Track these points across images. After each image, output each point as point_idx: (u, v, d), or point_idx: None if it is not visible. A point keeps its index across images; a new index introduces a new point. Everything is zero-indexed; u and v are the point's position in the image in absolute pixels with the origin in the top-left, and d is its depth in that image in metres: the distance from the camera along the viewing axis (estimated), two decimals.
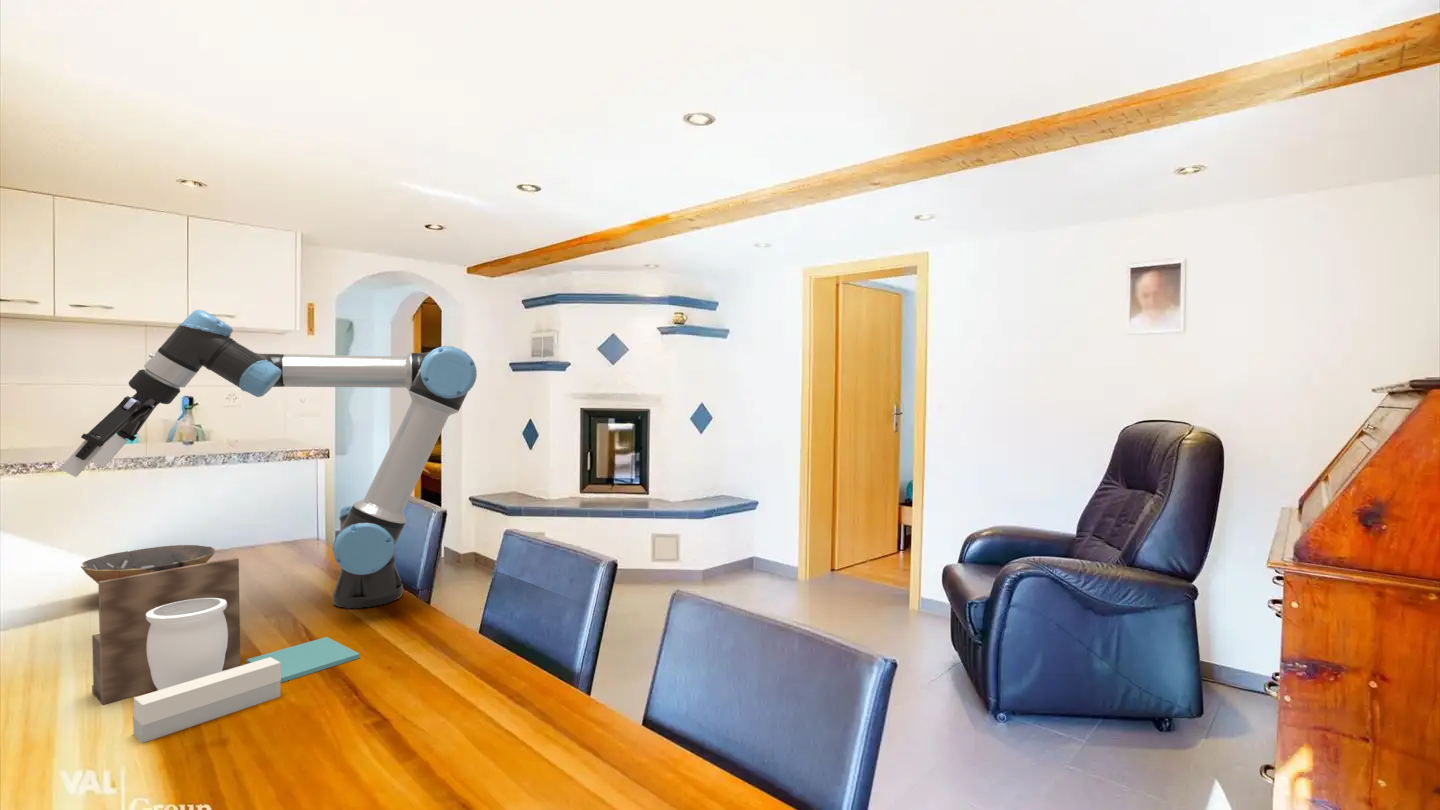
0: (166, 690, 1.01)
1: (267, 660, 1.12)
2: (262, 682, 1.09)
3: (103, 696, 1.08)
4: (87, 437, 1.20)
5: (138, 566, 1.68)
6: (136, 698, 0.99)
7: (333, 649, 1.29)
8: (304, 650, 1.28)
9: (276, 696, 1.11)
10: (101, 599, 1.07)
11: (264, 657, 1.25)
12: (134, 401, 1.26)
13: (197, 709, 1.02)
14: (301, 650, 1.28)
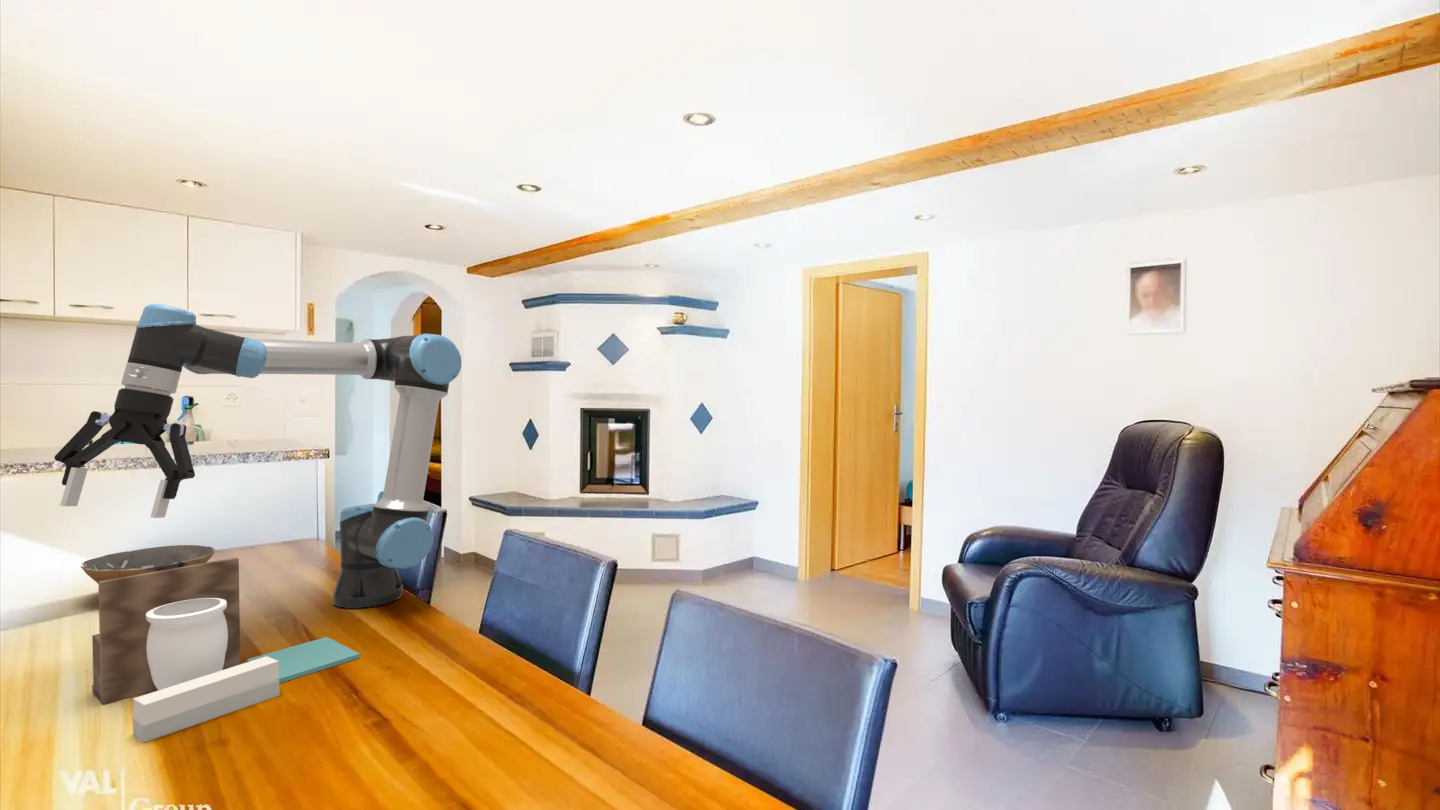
0: (166, 691, 1.01)
1: (264, 659, 1.13)
2: (261, 681, 1.10)
3: (103, 696, 1.08)
4: (187, 476, 1.16)
5: (138, 566, 1.68)
6: (136, 699, 0.98)
7: (333, 649, 1.29)
8: (304, 650, 1.28)
9: (275, 695, 1.11)
10: (101, 599, 1.07)
11: None
12: (182, 425, 1.18)
13: (197, 709, 1.02)
14: (301, 650, 1.28)
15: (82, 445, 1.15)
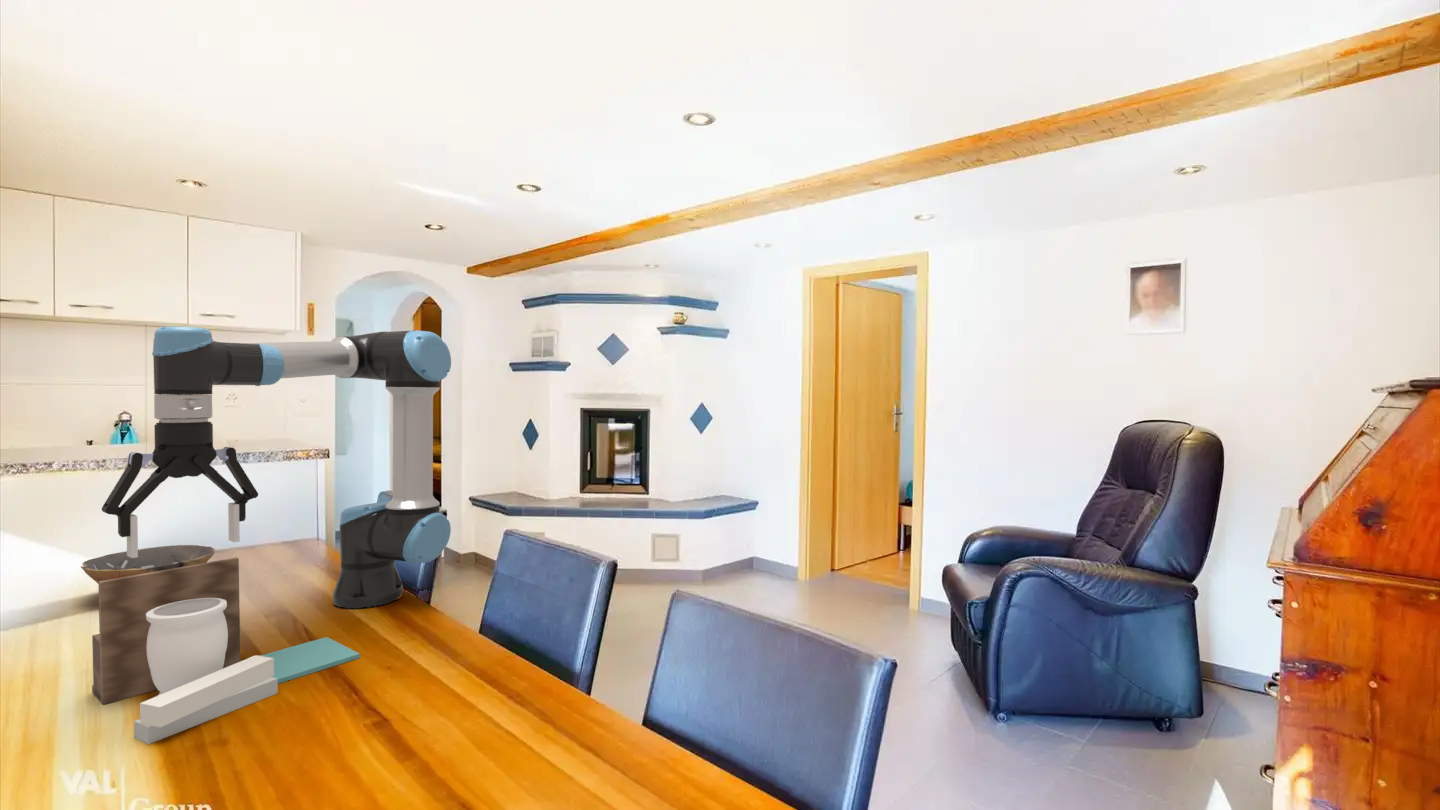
0: (172, 693, 1.00)
1: (255, 657, 1.13)
2: (258, 678, 1.11)
3: (103, 696, 1.08)
4: None
5: (138, 566, 1.68)
6: (144, 703, 0.97)
7: (333, 649, 1.29)
8: (304, 650, 1.28)
9: (273, 694, 1.12)
10: (101, 599, 1.07)
11: None
12: None
13: (200, 709, 1.02)
14: (301, 650, 1.28)
15: None
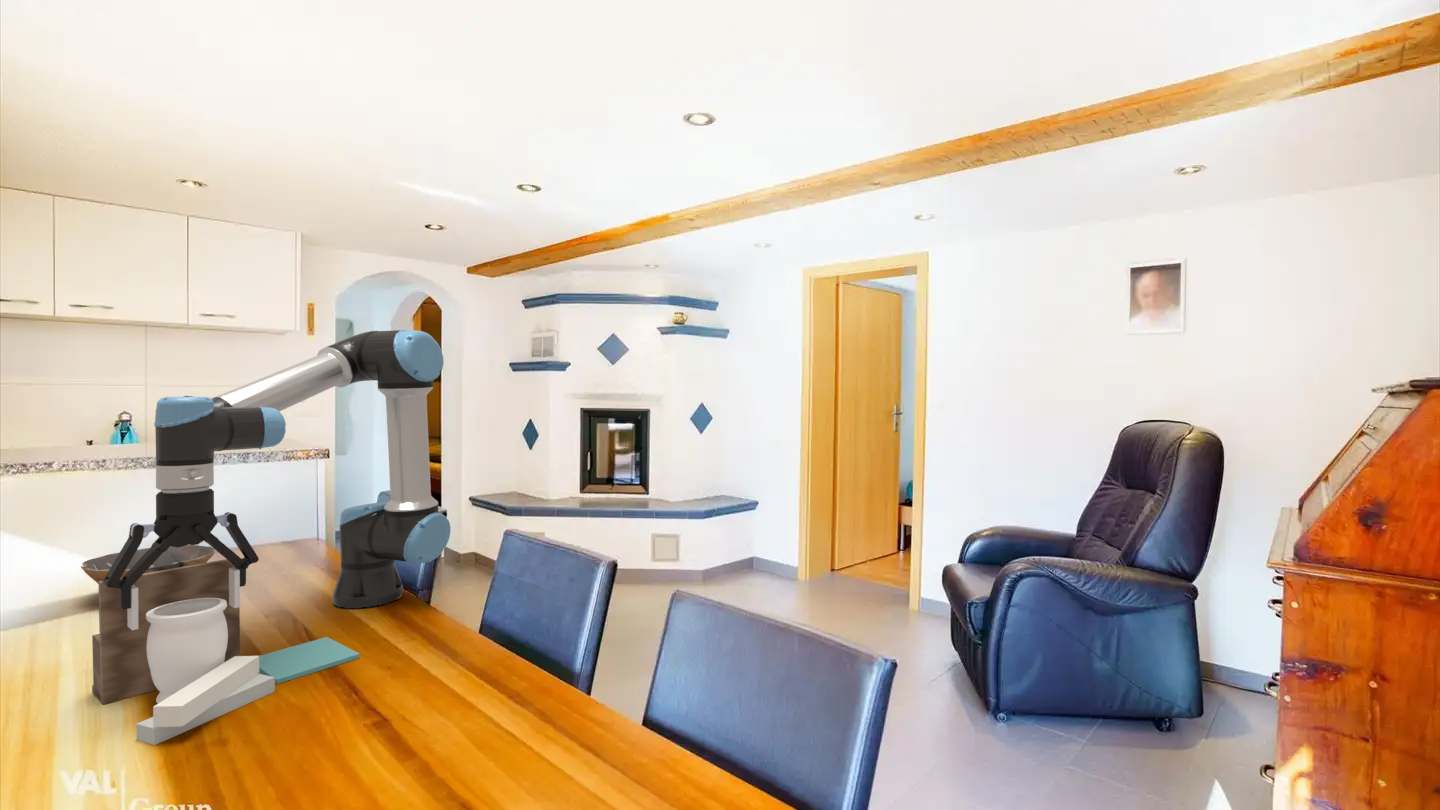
0: (180, 694, 1.00)
1: (238, 658, 1.13)
2: (249, 676, 1.12)
3: (103, 696, 1.08)
4: (257, 559, 1.18)
5: None
6: (158, 706, 0.96)
7: (333, 649, 1.29)
8: (304, 650, 1.28)
9: (271, 692, 1.12)
10: (101, 599, 1.07)
11: (264, 657, 1.25)
12: None
13: None
14: (301, 650, 1.28)
15: None
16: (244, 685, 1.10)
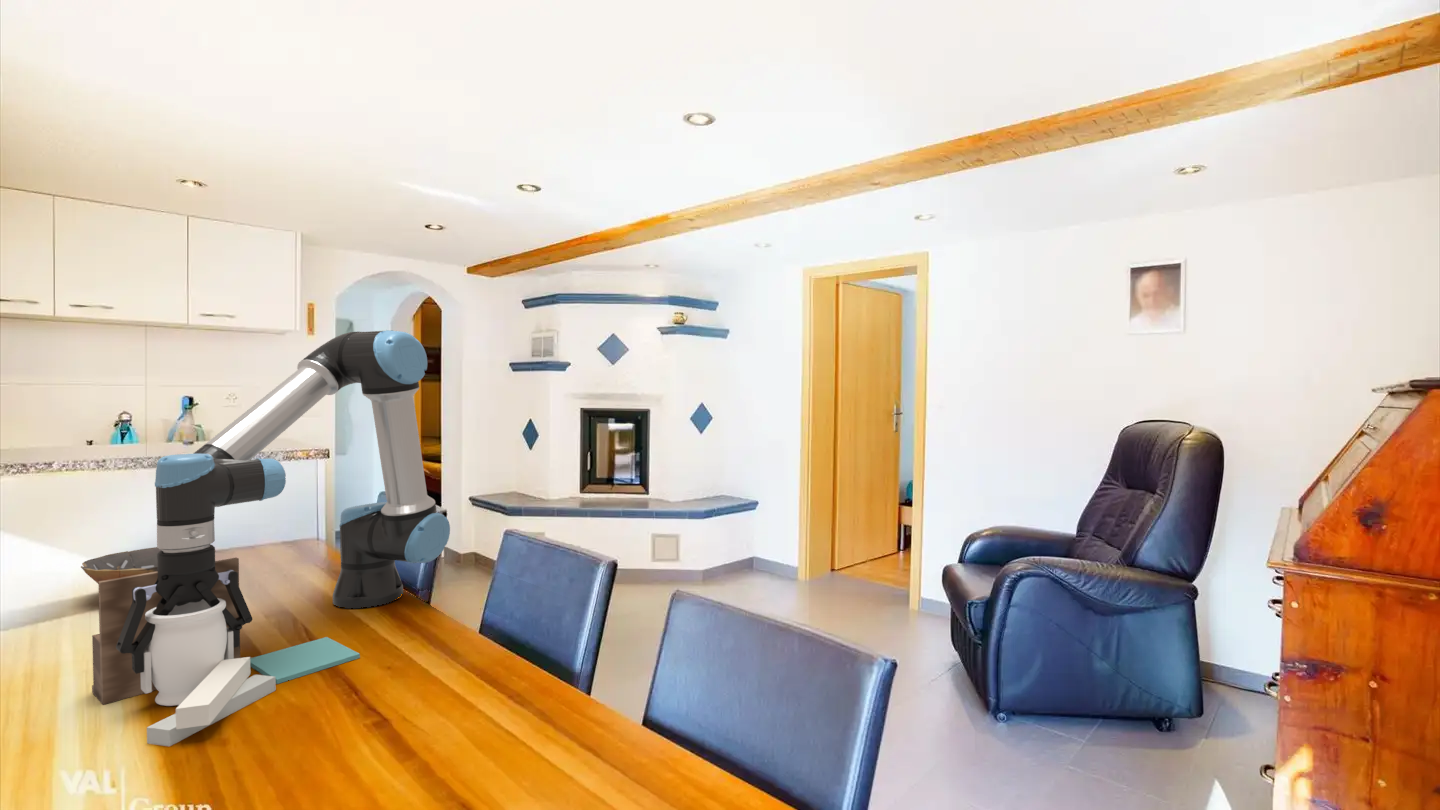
0: (196, 696, 1.00)
1: (228, 661, 1.12)
2: (245, 676, 1.12)
3: (103, 696, 1.08)
4: None
5: (138, 566, 1.68)
6: (181, 707, 0.96)
7: (333, 649, 1.29)
8: (304, 650, 1.28)
9: None
10: (101, 599, 1.07)
11: (264, 657, 1.25)
12: None
13: None
14: (301, 650, 1.28)
15: None
16: (246, 685, 1.10)
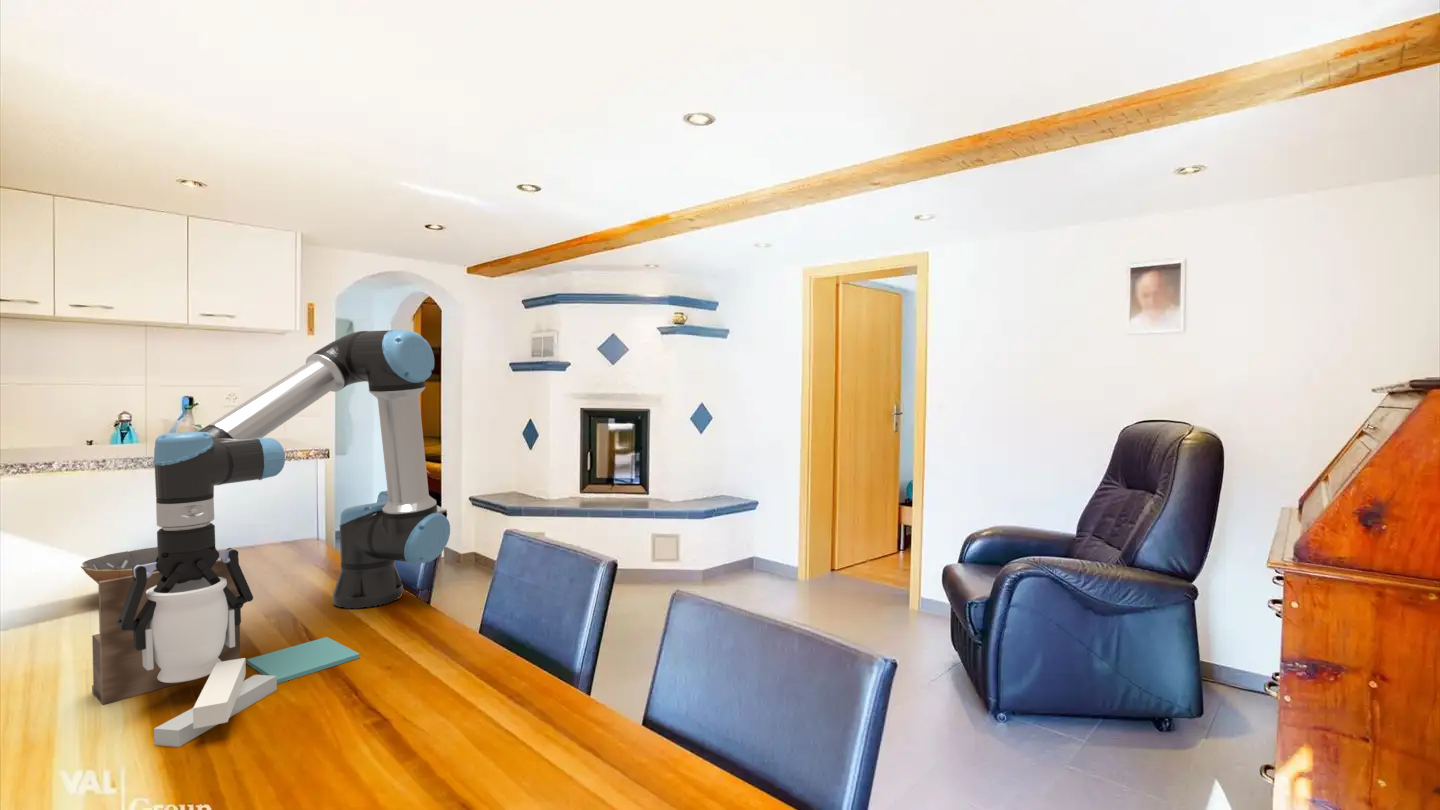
0: (209, 696, 1.00)
1: (223, 662, 1.12)
2: (243, 677, 1.11)
3: (103, 696, 1.08)
4: None
5: None
6: (198, 707, 0.96)
7: (333, 649, 1.29)
8: (304, 650, 1.28)
9: (273, 691, 1.13)
10: (101, 599, 1.07)
11: (264, 657, 1.25)
12: None
13: None
14: (301, 650, 1.28)
15: None
16: (248, 685, 1.10)
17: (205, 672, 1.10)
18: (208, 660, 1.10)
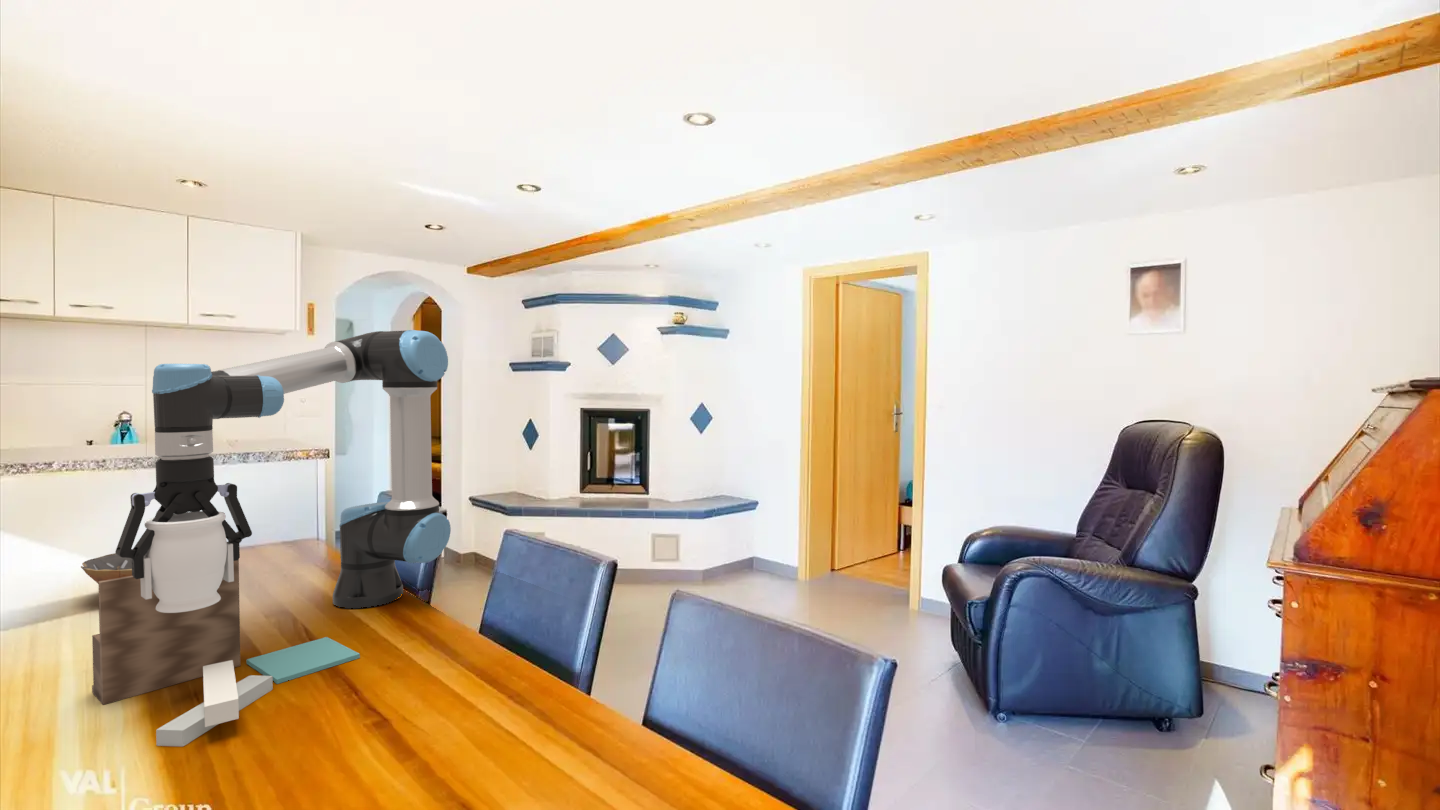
0: (214, 695, 1.00)
1: (211, 666, 1.11)
2: None
3: (103, 696, 1.08)
4: None
5: None
6: (209, 705, 0.97)
7: (333, 649, 1.29)
8: (304, 650, 1.28)
9: None
10: (101, 599, 1.07)
11: (264, 657, 1.25)
12: None
13: None
14: (301, 650, 1.28)
15: None
16: (245, 686, 1.10)
17: (204, 604, 1.10)
18: (207, 592, 1.10)
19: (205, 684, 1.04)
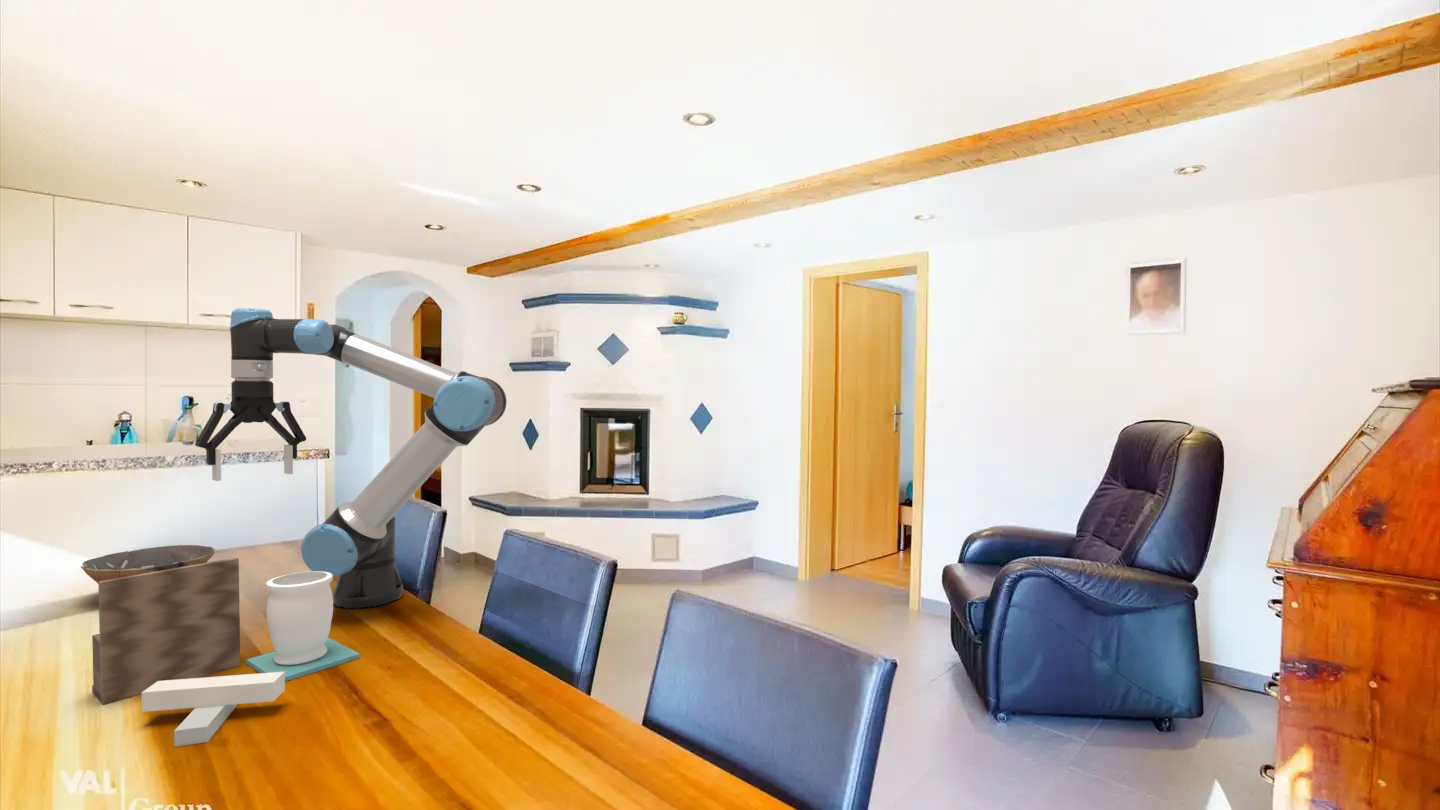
0: (252, 680, 1.05)
1: (152, 688, 1.02)
2: None
3: (103, 696, 1.08)
4: None
5: (138, 566, 1.68)
6: (274, 680, 1.05)
7: (333, 649, 1.29)
8: None
9: None
10: (101, 599, 1.07)
11: (264, 657, 1.25)
12: None
13: (224, 707, 1.03)
14: None
15: None
16: None
17: (315, 656, 1.24)
18: (318, 645, 1.24)
19: (209, 686, 1.03)
